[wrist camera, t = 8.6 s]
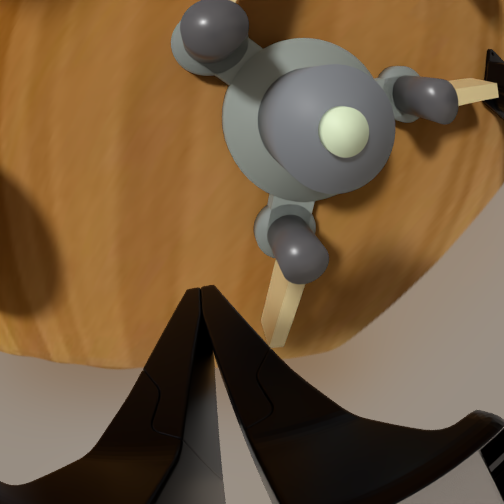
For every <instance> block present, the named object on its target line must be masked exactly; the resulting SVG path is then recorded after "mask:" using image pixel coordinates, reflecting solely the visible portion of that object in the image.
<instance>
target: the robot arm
mask: <svg viewBox="0 0 504 504" xmlns="http://www.w3.org/2000/svg"><path fill="white" fill-rule="evenodd" d="M485 81H489V82H493V83H497V87H498V95H499V97H498V98H493V99H488V100H483V102H484V103H485V104H486V105H487V106H488V107H489V108H491V109H492V110H493V111H494V112H495V113H496V114H498V115H499V116H500V117H501V118H502V119H503V120H504V61H503V60H502V59H501V58H500V57H499V56H498V55H497V54H496V53H495V52H494V51H493V50H492V49H488V50H487V62H486V72H485ZM213 352H214V353H213ZM214 355H215V359H216V362H217V365H218V368H219V370H220V373H221V376H222V379H223V382H224V385H225V388H226V390H227V393H228V396H229V399H230V402H231V404H232V407H233V410H234V412H235V415H236V418H237V420H238V423H239V426H240V428H241V431H242V433H243V436H244V439H245V441H246V443H247V446H248V448H249V451H250V453H251V456H252V458H253V461H254V463H255V465H256V468H257V470H258V472H259V474H260V477H261V479H262V482H263V484H264V486H265V488H266V491H267V493H268V495H269V497H270V499H271V501H272V504H504V428H503V427H504V419H502V418H501V417H499V416H497V415H494V414H492V413H488V412H485V411H481V410H475V411H473V412H472V413H470V414H468V415H467V416H466V417H464V418H463V419H461V420H460V421H459V422H457V423H456V424H455V425H452V426H450V427H448V428H445V429H440V430H422V429H416V428H410V427H405V426H399V425H394V424H389V423H384V422H380V421H375V420H370V419H366V418H362V417H359V416H357V415H354V414H352V413H350V412H349V411H347V410H345V409H344V408H342V407H341V406H339V405H338V404H336V403H335V402H334V401H332V400H331V399H329V398H328V397H327V396H325V395H324V394H323V393H321V392H320V391H319V390H317V389H316V388H315V387H313V386H312V385H311V384H309V383H308V382H306V381H305V380H304V379H303V378H302V377H301V376H299V375H298V374H297V373H296V372H294V371H293V370H292V369H291V368H290V367H289V366H288V365H287V364H286V363H285V362H284V361H283V360H282V359H281V358H280V357H279V356H278V355H277V354H276V353H275V352H274V351H273V350H272V349H271V348H270V347H269V346H268V345H267V344H266V342H265V341H264V340H263V339H262V338H261V337H260V336H259V335H258V334H257V333H256V332H255V330H254V329H253V328H252V327H251V326H250V325H249V324H248V323H247V322H246V321H245V319H244V318H243V317H242V316H241V315H240V314H239V313H238V312H237V310H236V309H235V308H234V307H233V306H232V305H231V304H230V303H229V301H228V300H227V299H226V298H225V297H224V296H223V295H222V293H221V292H220V291H219V290H218V289H217V288H216V286H214V285H209V286H203V287H201V289H200V288H199V287H198V288H192V289H188V290H186V292H185V294H184V296H183V297H182V299H181V301H180V303H179V304H178V306H177V308H176V310H175V312H174V313H173V315H172V317H171V319H170V320H169V322H168V324H167V326H166V328H165V330H164V331H163V333H162V335H161V337H160V339H159V340H158V342H157V344H156V346H155V348H154V350H153V352H152V353H151V355H150V357H149V359H148V361H147V363H146V365H145V366H144V368H143V370H144V371H142V372H141V374H140V376H139V378H138V380H137V381H136V383H135V385H134V387H133V389H132V390H131V392H130V394H129V396H128V397H127V399H126V400H125V402H124V403H123V405H122V407H121V408H120V410H119V411H118V413H117V414H116V415H115V417H114V418H113V420H112V422H111V423H110V425H109V426H108V427H107V429H106V430H105V432H104V433H103V435H102V436H101V438H100V439H99V441H98V442H97V444H96V445H95V446H94V447H93V449H92V450H91V451H90V452H89V453H87V454H86V455H85V456H84V457H82V458H81V459H79V460H77V461H75V462H73V463H71V464H69V465H67V466H65V467H63V468H61V469H58V470H56V471H54V472H52V473H50V474H48V475H45V476H43V477H41V478H39V479H36V480H34V481H32V482H29V483H26V484H22V485H9V484H6V483H3V482H1V481H0V504H225V503H226V502H225V493H224V484H223V475H222V464H221V453H220V443H219V429H218V415H217V401H216V384H215V364H214ZM502 428H503V429H502ZM501 429H502V430H501ZM490 439H491V440H490ZM489 440H490V441H489ZM482 446H483V447H482Z"/></svg>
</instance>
